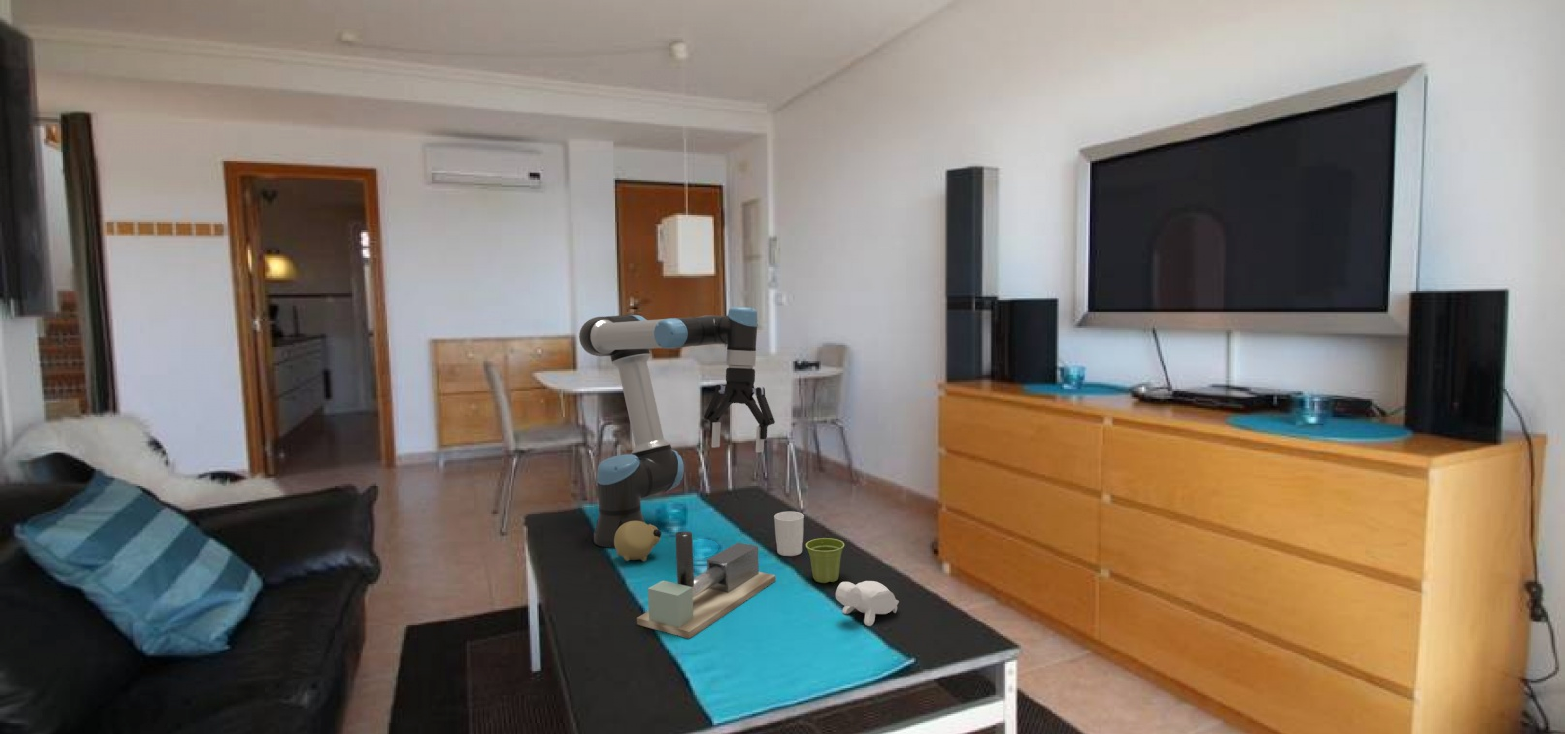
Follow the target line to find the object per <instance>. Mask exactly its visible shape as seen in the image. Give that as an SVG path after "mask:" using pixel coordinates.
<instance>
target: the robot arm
mask: <svg viewBox="0 0 1565 734" xmlns="http://www.w3.org/2000/svg"><path fill="white" fill-rule="evenodd" d="M758 326H759V325H758V311H757V310H756V308H753V307H745V306H744V307H742V306H732V307H729V309H728V313H727V315H713V314H712V315H710V314H708V315H703V316H701V315H700V316H690V317H677V318H675V317H671V318H669V317H668V318H664V319H663V318H661V319H646V318H644V317H643V316H641V315H637V314H623V315H621V314H620V315H610V316H609V315H608V316H596V317H593V318H591V319H588V320H587V321H586V322H585V323H584V324H583V325H582V326H581V328H580V330H579V334H578V338H579V339H578V340H579V343H580V346H581V347H582V349H583V350H584V351H585V352H586V353H588V354H589V355H591V356H595V357H610V361H611V364H612V365H614V366H615V367H616V368H617V369H618V373H619V376H620V382H621V386H622V391H623V395H624V400H625V404H626V405H625V406H626V408H627V412H628V417H629V422H630V423H629V424H630V427H631V432H632V437H633V440H634V448H633V450H632V451H631V453H629V454H621V455H620V454H618V455H614V456H610V457H608V458H605V459H603V460H602V461H601V462H600V463H599V464H598V466H597V474H596V483H597V493H598V494H597V495H598V518H597V521H596V525H595V530H594V532H593V542H594V544H595V545H597V546H599V547H602V548H612V549H614V548H615V546H614V537H615V533H616V531H617V529H618V528H619V527H620V526H621V525H622V524H624V523H626V522H629V521H642V522H644V523H646V522H645V519H644V516H643V513H642V509H641V507H642V505H641V504H642V503H641V499H644V498H647V497H650V496H654V495H658V494H660V493H661V494H662V493H667V492H668V491H670V490H673V489H675V488H677V487H678V486H679V485H680V484H681V482H682V481H681V480H682V479H683V476H684V471H685V470H684V469H685V468H684V462H683V458H682V456H681V455H680V454H679V452H678V451H676V450H675V449H672V446H671V443H670V442H669V441H667V440H666V439H665V438H664V433H663V429H662V424H661V418H660V416H659V415H660V414H659V411H658V407H657V402H656V397H655V392H654V389H653V384H652V380H651V375H650V372H649V366H648V360H649V359H650V356H651V353H650V350H651V349H652V350H653V349H666V350H667V349H669V350H674V349H675V350H676V349H679V348H681V349H682V348H689V347H697V346H707V345H709V346H711V345H726V346H727V347H726V361H725V363H726V364H725V365H726V366H728V367H726V369H725V382H726V384H725V385H724V384H716V385H715V388H714V394H713V396H712V398H711V400H710V402H709V404H708V406H707V408H706V410H705V413H704V414H703V418H704V419H705V420H707V421H708V422H709V424H710V425H709V434H710V435H711V446H710V447H711V448H720V446H721V429H722V428H721V427H722V426H721V425H722V422H720V419H721V418H722V416H723V415H724V414H725V412H726V411H727V410H728V408H730V407H731V405H732V404H741V405H745V406H746V407H747V408H748V409H749V411H750V412H751V414H752V416H753V417H754V419H755V420H756V422H757V423H758V424H759V425H758V426H756V433H755V435H756V437H755V453H758V454H759V453H763V452H764V451H765V450H764V449H765V440H767V438H768V427H769V426H771V425H774V424H775V422H776V421H775V418H774V416H773V413H772V410H771V407H770V405H769V403H768V400H767V398H766V397H767V396H766V388H765V387H763V386H762V387H761V386H758V387H757V386H756V387H755V385H754V384H755V381H756V370H755V368H754V367H756V362H757V361H756V357H757V337H758V336H757V335H758V334H757V333H758ZM725 393H726V396H725V397H724V398H723V396H724V394H725ZM754 395H755V396H756V397H755V398H756V400H757V402H756V400H755V398H754V397H753V396H754ZM722 398H723V399H722ZM721 401H722V402H721ZM757 403H758V405H759V406H758V405H757Z"/></svg>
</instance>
